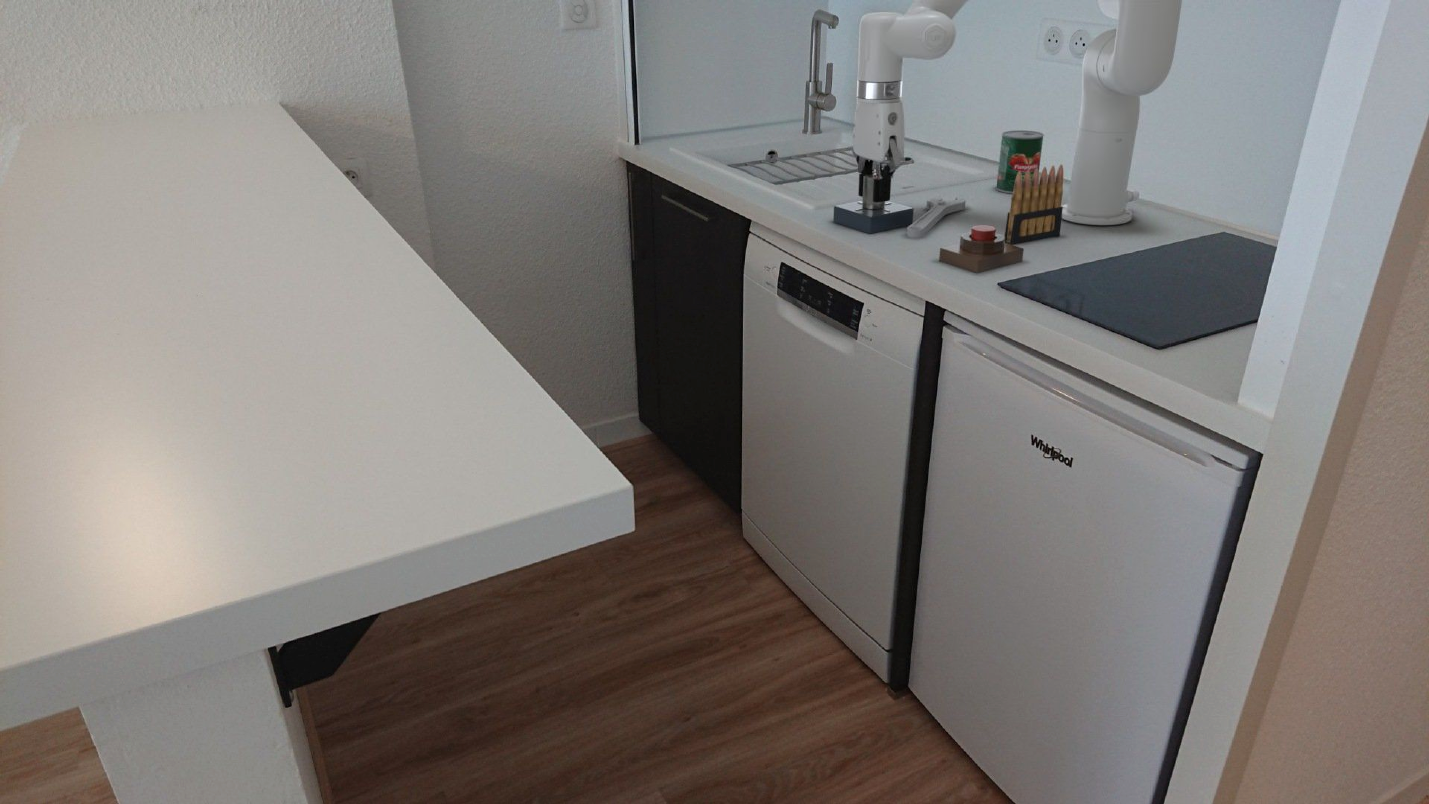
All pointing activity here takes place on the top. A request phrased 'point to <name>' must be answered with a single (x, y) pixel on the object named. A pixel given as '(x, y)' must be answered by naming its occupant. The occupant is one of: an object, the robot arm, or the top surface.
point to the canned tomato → (1018, 157)
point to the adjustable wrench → (934, 215)
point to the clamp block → (873, 216)
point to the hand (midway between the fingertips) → (874, 197)
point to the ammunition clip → (1035, 207)
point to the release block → (981, 253)
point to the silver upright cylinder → (870, 193)
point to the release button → (983, 232)
